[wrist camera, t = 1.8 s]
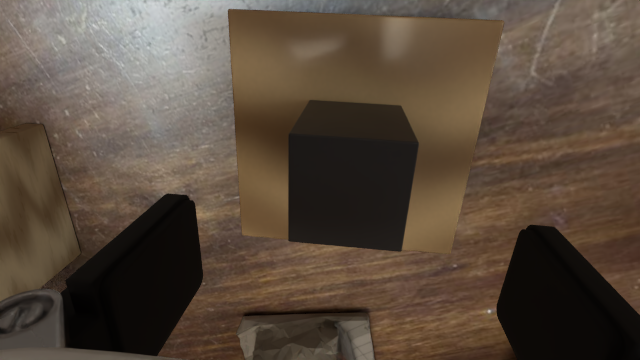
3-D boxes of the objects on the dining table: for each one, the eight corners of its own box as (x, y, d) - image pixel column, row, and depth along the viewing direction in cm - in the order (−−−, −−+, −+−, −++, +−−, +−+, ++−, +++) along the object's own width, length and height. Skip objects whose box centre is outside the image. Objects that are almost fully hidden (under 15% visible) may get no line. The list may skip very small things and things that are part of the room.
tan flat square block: (246, 10, 19) (227, 8, 16) (483, 20, 18) (505, 20, 15) (255, 210, 24) (241, 235, 21) (439, 226, 23) (450, 254, 20)
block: (309, 99, 17) (288, 133, 12) (401, 105, 17) (419, 142, 12) (307, 182, 19) (288, 241, 14) (390, 188, 19) (401, 252, 14)
